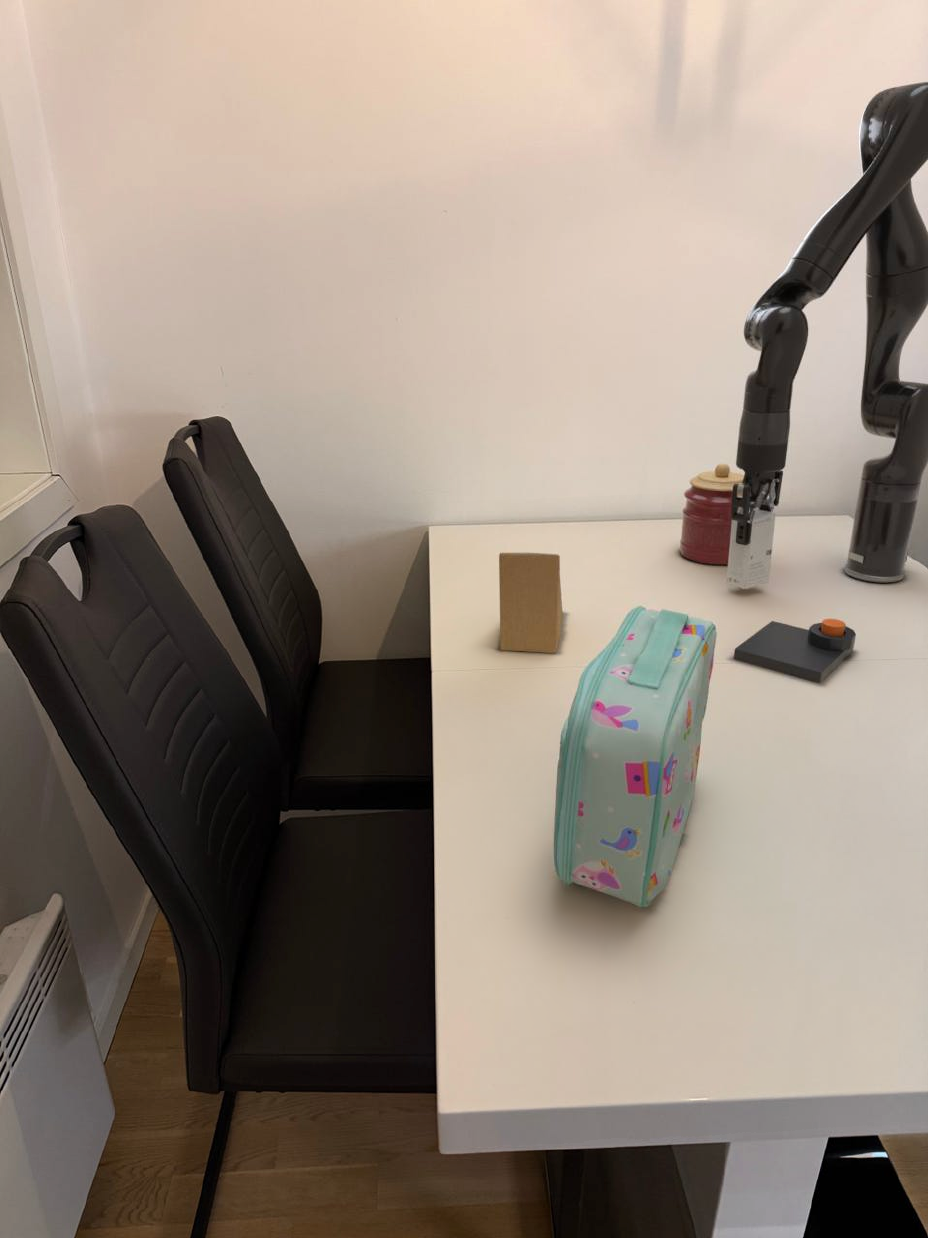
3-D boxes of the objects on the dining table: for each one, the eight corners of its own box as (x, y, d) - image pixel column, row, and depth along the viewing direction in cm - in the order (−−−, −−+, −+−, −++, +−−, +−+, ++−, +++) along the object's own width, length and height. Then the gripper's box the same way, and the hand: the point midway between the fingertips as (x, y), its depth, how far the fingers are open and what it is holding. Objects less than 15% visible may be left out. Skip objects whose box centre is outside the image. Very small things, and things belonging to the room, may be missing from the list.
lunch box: (612, 752, 96) (622, 576, 88) (704, 770, 92) (724, 588, 84) (540, 904, 73) (545, 686, 65) (659, 936, 69) (680, 709, 61)
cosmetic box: (745, 590, 139) (752, 519, 134) (724, 582, 142) (730, 513, 138) (770, 582, 142) (778, 512, 137) (748, 574, 145) (755, 507, 141)
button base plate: (771, 630, 127) (774, 608, 126) (857, 651, 120) (861, 629, 118) (733, 659, 118) (736, 637, 117) (823, 685, 110) (827, 661, 109)
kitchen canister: (757, 551, 162) (768, 460, 156) (738, 570, 152) (749, 474, 146) (691, 541, 169) (699, 453, 162) (669, 559, 159) (676, 466, 152)
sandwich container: (564, 613, 135) (567, 523, 129) (557, 653, 121) (560, 554, 115) (511, 611, 136) (512, 521, 130) (498, 650, 122) (498, 552, 117)
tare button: (825, 627, 120) (826, 616, 120) (846, 632, 118) (848, 622, 118) (817, 633, 118) (819, 623, 117) (839, 638, 116) (841, 628, 116)
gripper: (767, 448, 125) (755, 554, 132) (804, 433, 135) (791, 532, 142) (720, 443, 130) (711, 545, 137) (759, 428, 140) (749, 524, 146)
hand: (752, 538), depth 139 cm, fingers closed on cosmetic box, 6 cm apart
